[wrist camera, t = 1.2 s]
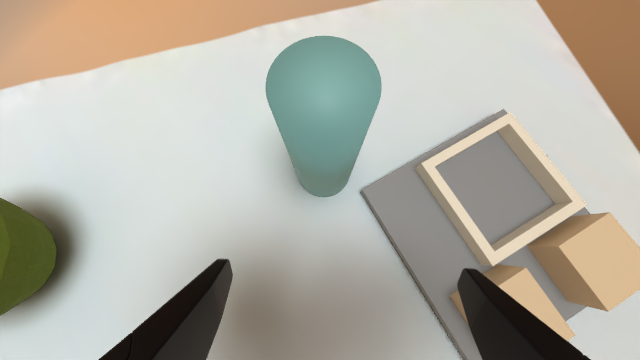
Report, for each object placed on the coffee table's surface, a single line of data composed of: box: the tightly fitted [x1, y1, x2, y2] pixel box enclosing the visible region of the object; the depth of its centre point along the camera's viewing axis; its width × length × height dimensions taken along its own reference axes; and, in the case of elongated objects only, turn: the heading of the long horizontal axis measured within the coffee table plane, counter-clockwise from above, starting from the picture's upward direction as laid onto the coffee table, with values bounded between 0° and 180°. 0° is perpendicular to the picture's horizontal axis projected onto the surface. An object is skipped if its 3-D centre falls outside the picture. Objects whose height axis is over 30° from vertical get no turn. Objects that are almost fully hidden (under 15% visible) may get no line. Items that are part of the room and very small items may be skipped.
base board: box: [361, 109, 640, 360], centre depth 21 cm, size 16×17×4 cm
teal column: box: [266, 36, 381, 197], centre depth 18 cm, size 5×5×14 cm
